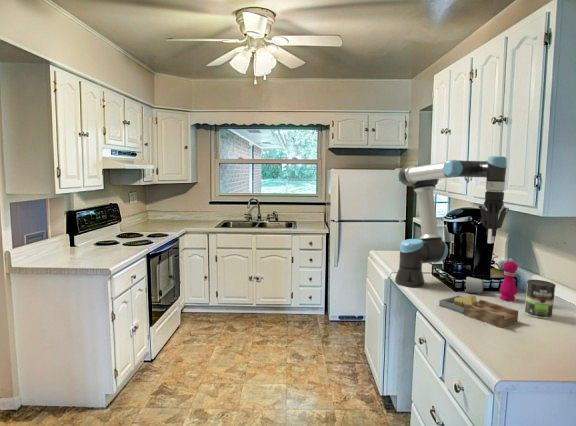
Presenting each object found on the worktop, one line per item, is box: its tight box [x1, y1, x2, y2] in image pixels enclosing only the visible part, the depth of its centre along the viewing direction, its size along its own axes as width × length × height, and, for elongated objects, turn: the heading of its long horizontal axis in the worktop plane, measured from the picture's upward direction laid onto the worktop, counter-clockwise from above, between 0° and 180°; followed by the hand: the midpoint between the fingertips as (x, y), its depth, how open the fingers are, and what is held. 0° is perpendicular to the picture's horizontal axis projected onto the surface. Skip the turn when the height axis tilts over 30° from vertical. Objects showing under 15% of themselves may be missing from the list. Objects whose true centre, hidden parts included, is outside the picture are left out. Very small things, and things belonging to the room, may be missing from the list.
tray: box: [438, 295, 479, 315], centre depth 181 cm, size 12×14×2 cm
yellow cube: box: [462, 295, 478, 307], centre depth 175 cm, size 4×4×4 cm
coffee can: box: [524, 279, 556, 320], centre depth 173 cm, size 10×10×14 cm
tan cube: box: [454, 296, 464, 308], centre depth 178 cm, size 4×4×4 cm
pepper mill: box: [499, 258, 518, 302], centre depth 192 cm, size 7×7×20 cm
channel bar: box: [463, 299, 519, 329], centre depth 167 cm, size 16×12×5 cm
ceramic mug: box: [464, 276, 485, 295], centre depth 204 cm, size 11×8×8 cm
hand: (490, 242), depth 184 cm, fingers closed
